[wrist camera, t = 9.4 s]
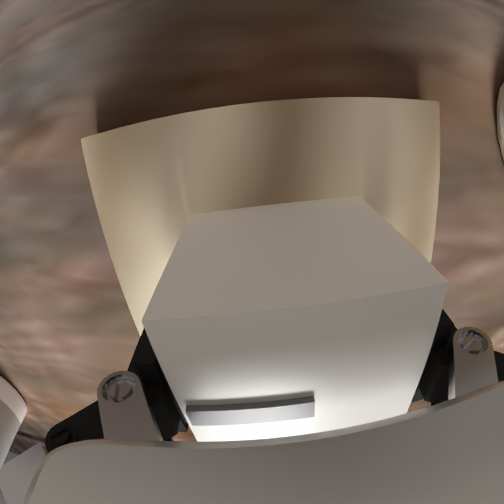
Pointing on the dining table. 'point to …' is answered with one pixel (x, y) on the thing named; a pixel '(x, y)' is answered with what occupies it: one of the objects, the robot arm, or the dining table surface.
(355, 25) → the dining table surface
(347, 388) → the white slotted cube
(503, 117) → the bread roll
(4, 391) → the white plastic bottle
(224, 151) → the beige square plate
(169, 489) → the robot arm
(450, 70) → the dining table surface
